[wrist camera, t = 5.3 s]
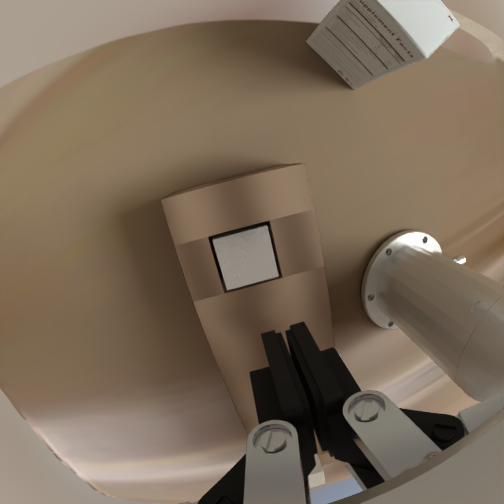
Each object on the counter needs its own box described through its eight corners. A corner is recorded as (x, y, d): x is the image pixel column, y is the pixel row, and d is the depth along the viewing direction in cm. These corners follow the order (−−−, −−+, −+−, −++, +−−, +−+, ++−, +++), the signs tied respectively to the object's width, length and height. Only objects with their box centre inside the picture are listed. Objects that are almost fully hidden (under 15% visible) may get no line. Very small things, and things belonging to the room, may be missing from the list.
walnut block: (285, 163, 27) (304, 163, 21) (330, 431, 39) (342, 458, 33) (172, 193, 26) (160, 200, 20) (264, 451, 38) (270, 480, 32)
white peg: (311, 438, 31) (323, 470, 26) (314, 453, 32) (325, 483, 27) (279, 448, 31) (288, 481, 25) (284, 462, 32) (293, 492, 27)
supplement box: (344, 12, 22) (402, -42, 10) (389, 59, 24) (463, 26, 12) (301, 41, 23) (354, -21, 11) (352, 92, 25) (429, 60, 13)
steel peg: (256, 214, 27) (267, 225, 22) (266, 255, 28) (278, 276, 23) (212, 225, 27) (212, 240, 22) (224, 267, 28) (227, 290, 23)
